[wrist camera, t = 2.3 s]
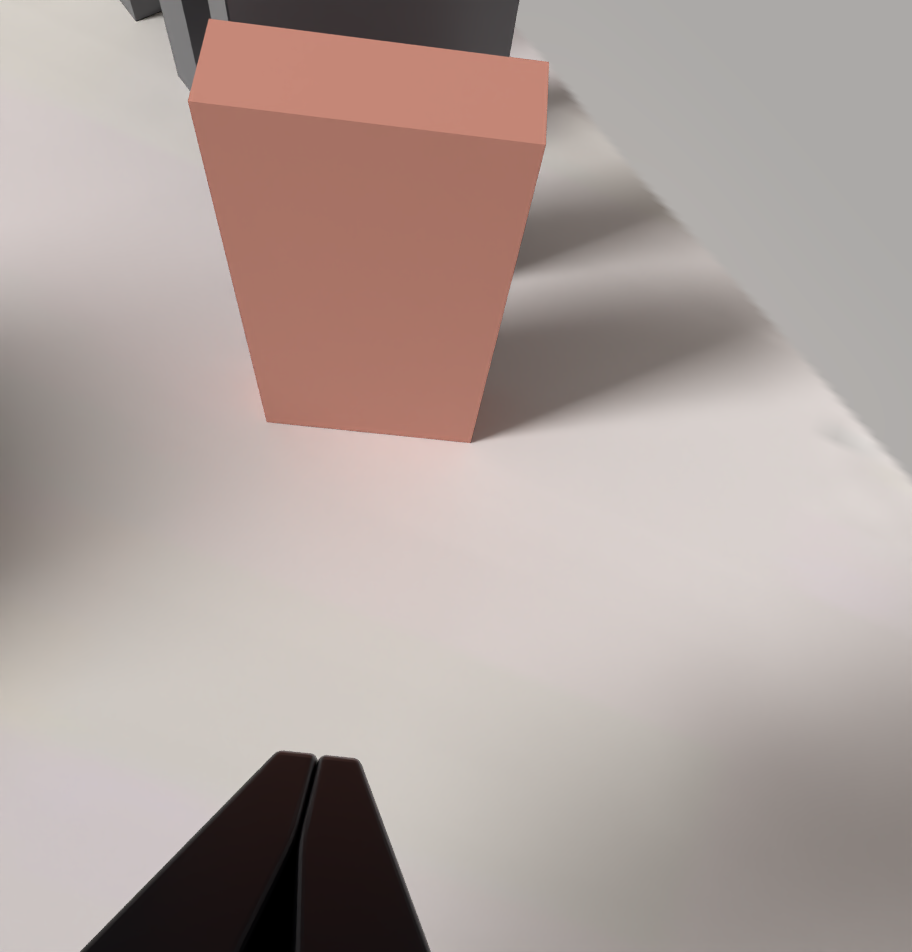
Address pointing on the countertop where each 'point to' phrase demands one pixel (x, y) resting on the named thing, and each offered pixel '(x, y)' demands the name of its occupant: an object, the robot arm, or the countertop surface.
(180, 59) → the domino
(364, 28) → the domino
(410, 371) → the domino
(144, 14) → the domino
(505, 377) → the countertop surface
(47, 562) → the countertop surface
